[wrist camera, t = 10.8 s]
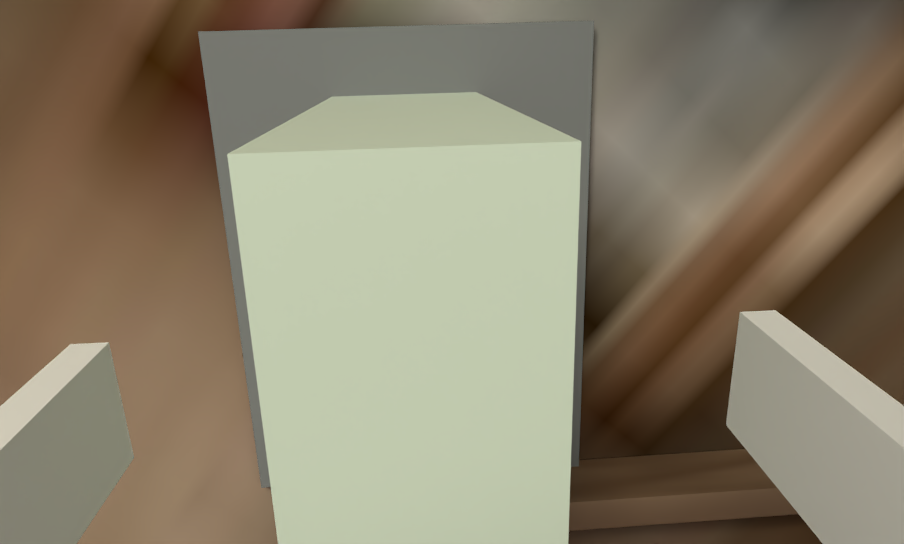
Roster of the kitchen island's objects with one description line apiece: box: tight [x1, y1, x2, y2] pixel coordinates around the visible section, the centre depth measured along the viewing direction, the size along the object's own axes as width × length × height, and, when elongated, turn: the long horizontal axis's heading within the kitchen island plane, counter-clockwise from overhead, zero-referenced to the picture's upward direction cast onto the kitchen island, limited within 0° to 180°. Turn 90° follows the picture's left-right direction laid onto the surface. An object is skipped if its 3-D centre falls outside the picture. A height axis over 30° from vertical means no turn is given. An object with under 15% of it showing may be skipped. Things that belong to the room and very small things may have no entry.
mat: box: [198, 21, 594, 488], centre depth 23 cm, size 16×12×1 cm
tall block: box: [227, 92, 581, 544], centre depth 16 cm, size 12×4×13 cm, turn 2°
